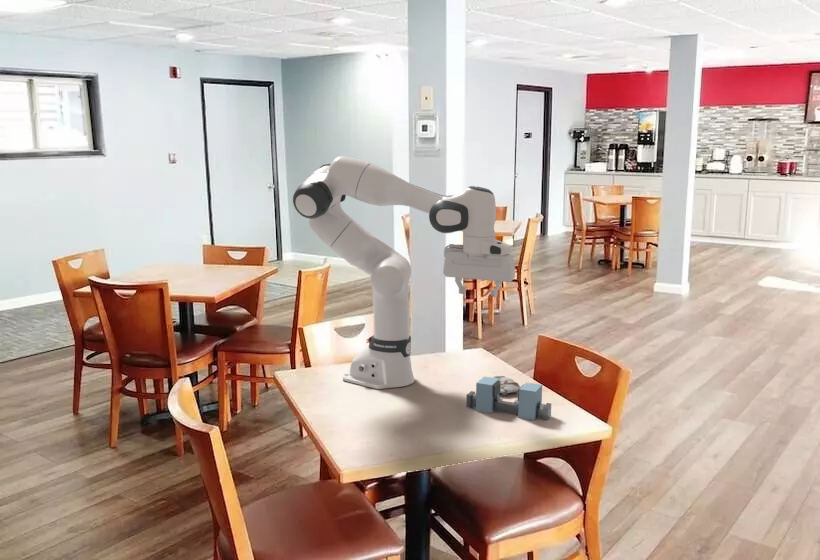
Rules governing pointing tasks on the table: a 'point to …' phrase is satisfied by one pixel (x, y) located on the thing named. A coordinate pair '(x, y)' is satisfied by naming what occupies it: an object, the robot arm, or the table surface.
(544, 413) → the rail
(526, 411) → the light blue block
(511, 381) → the stone
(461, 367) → the table surface
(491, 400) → the light blue rectangular block
